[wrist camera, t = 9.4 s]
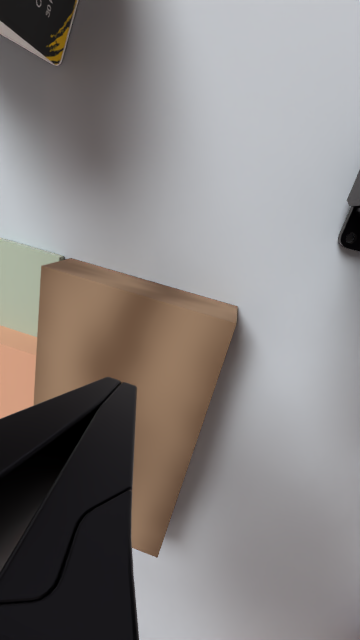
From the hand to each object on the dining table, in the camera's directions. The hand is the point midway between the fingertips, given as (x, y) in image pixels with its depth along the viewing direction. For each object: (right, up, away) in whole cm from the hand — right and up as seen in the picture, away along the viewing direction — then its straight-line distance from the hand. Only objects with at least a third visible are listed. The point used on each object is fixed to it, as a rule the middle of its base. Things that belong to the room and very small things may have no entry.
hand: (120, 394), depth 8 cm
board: (-2, -5, +14) cm, 15 cm away
